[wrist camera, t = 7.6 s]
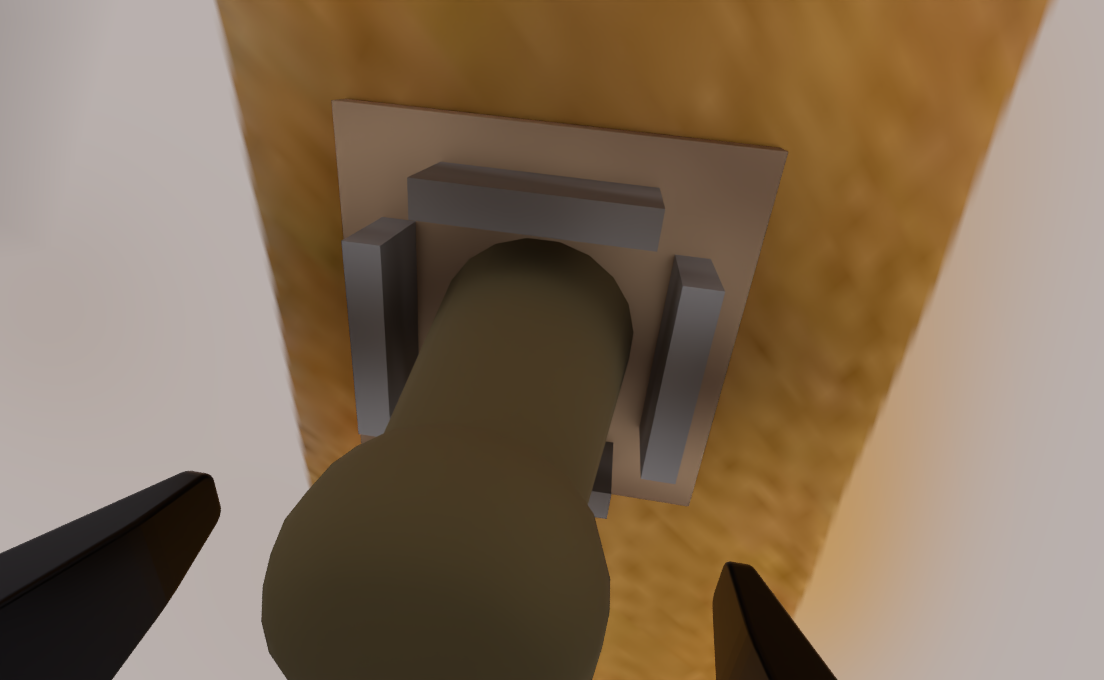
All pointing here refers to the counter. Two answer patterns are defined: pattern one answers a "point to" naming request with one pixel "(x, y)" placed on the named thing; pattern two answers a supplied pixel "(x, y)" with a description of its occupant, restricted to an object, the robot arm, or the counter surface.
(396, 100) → the counter surface
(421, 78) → the counter surface
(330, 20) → the counter surface
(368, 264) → the clip holder
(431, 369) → the cork
